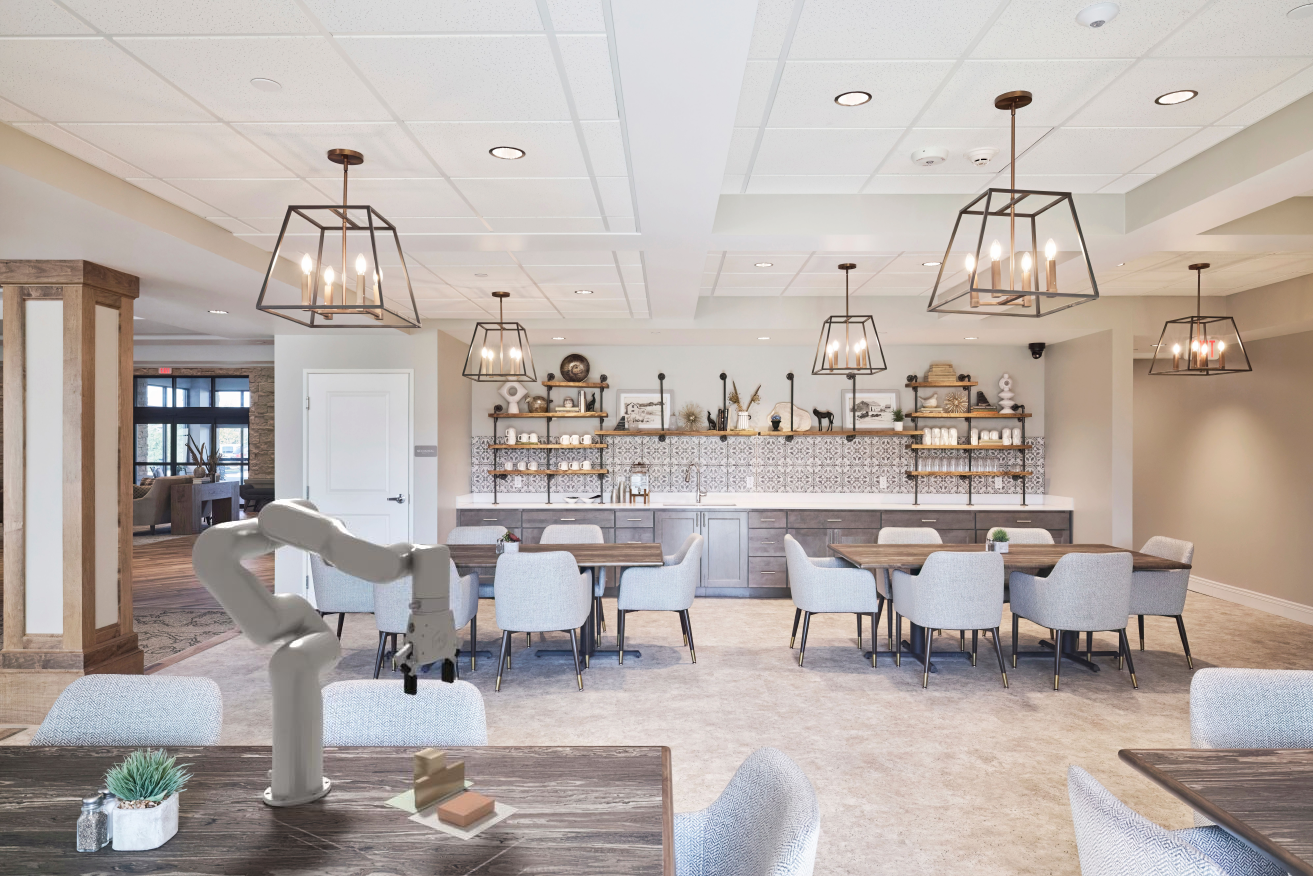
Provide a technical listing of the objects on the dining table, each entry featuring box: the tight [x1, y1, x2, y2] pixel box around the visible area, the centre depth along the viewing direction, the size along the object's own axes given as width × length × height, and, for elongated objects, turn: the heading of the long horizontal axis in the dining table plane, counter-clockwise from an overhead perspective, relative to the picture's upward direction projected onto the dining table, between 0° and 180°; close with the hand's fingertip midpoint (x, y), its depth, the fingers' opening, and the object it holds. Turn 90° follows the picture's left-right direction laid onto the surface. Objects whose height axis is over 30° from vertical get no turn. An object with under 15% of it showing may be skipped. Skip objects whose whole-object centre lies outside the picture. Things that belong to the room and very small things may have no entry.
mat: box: [406, 790, 521, 841], centre depth 145 cm, size 16×14×1 cm
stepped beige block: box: [413, 747, 466, 808], centre depth 154 cm, size 6×12×8 cm, turn 148°
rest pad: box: [383, 779, 475, 815], centre depth 154 cm, size 9×16×1 cm, turn 148°
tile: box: [438, 791, 496, 827], centre depth 145 cm, size 2×8×7 cm
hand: (429, 687), depth 155 cm, fingers open, 9 cm apart
